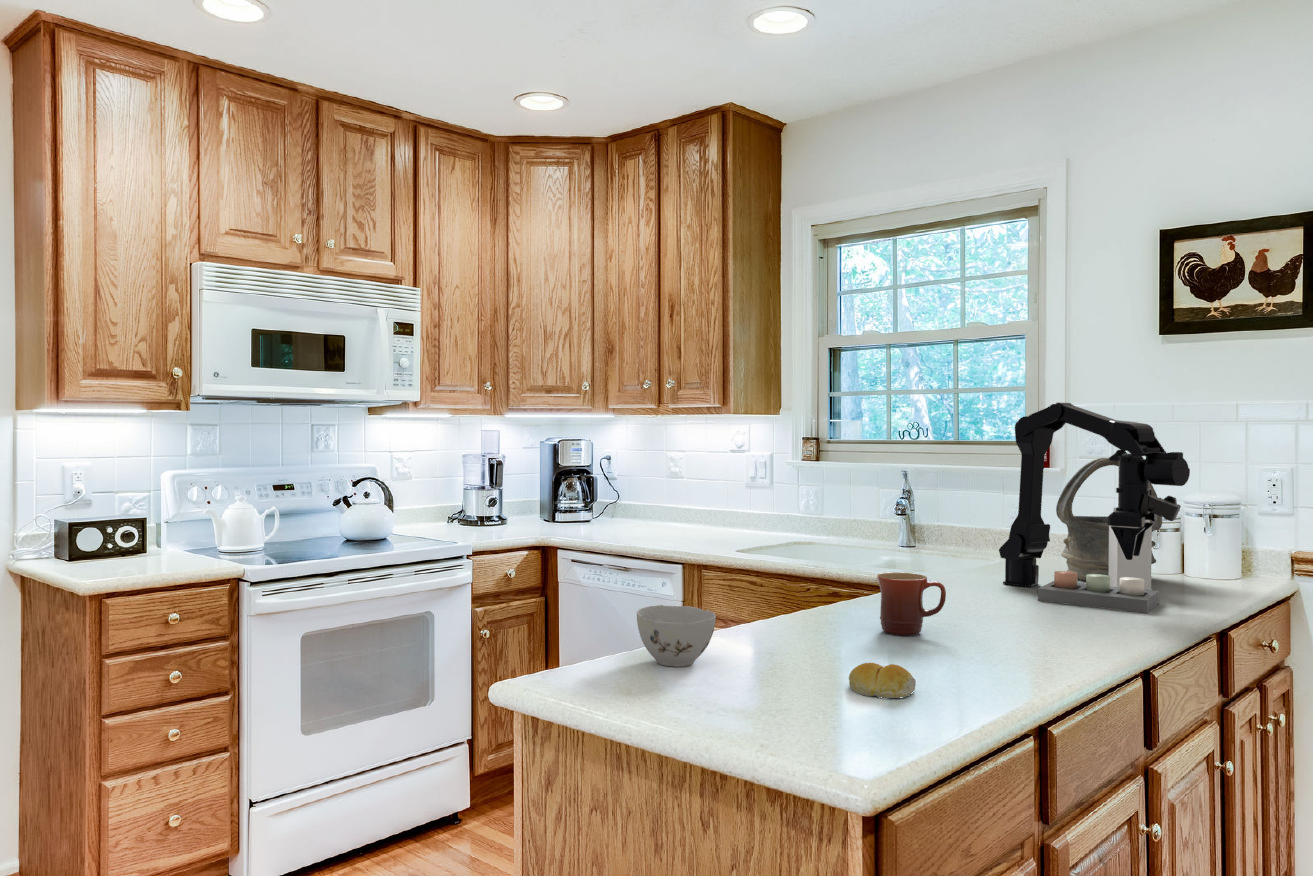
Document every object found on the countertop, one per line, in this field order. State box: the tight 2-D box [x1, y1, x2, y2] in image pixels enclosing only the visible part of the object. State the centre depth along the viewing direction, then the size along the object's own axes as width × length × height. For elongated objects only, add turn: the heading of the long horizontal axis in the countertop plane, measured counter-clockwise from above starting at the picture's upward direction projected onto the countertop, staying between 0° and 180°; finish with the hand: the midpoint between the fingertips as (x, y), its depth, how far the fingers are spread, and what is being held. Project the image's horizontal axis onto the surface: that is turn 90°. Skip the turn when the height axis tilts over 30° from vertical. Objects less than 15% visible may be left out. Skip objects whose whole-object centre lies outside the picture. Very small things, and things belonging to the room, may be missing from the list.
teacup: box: [636, 604, 717, 668], centre depth 146 cm, size 15×12×8 cm
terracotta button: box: [1053, 570, 1078, 588], centre depth 201 cm, size 5×5×3 cm
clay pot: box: [1055, 457, 1163, 582], centre depth 229 cm, size 22×23×30 cm
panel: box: [1037, 580, 1160, 614], centre depth 197 cm, size 21×13×3 cm, turn 52°
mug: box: [876, 571, 947, 637], centre depth 166 cm, size 12×9×10 cm
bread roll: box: [848, 662, 917, 699], centre depth 130 cm, size 8×9×4 cm
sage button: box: [1085, 574, 1110, 592], centre depth 197 cm, size 5×5×3 cm
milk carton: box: [1108, 507, 1153, 590], centre depth 210 cm, size 7×7×19 cm
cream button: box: [1119, 577, 1144, 595], centre depth 193 cm, size 5×5×3 cm
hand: (1132, 557), depth 193 cm, fingers open, 7 cm apart
